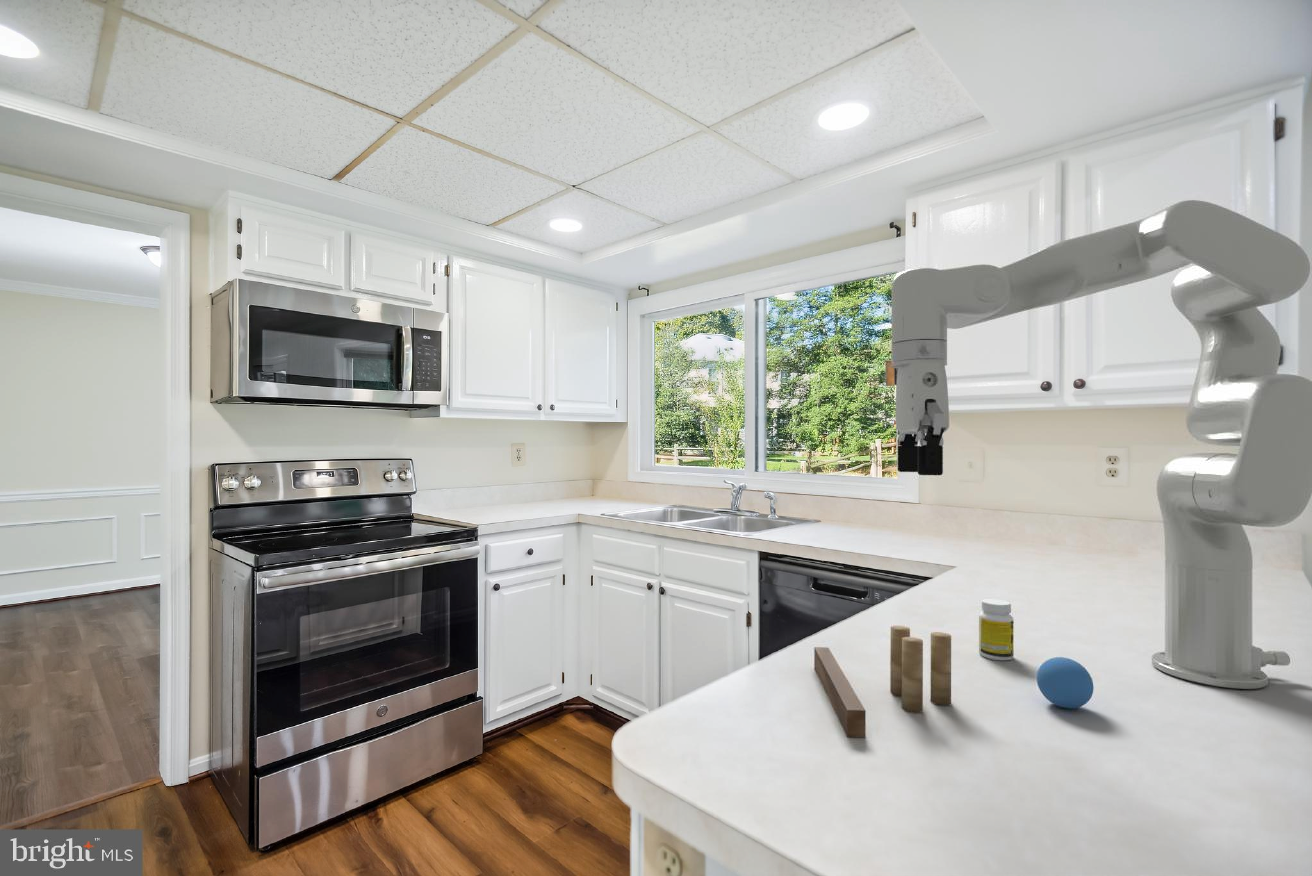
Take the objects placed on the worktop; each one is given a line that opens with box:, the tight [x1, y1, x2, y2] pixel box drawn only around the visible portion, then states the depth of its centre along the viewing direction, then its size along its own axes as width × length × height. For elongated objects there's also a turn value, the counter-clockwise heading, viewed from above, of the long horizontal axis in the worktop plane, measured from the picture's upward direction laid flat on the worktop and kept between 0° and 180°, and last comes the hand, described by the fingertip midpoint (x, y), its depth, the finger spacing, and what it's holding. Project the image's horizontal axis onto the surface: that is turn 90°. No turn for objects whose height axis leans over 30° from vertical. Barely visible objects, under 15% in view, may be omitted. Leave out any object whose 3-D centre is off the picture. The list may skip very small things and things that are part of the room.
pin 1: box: [889, 625, 911, 697], centre depth 84 cm, size 2×2×8 cm
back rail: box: [813, 646, 867, 739], centre depth 82 cm, size 2×22×3 cm, turn 175°
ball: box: [1036, 656, 1095, 709], centre depth 80 cm, size 6×6×6 cm
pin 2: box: [901, 636, 924, 714], centre depth 79 cm, size 2×2×8 cm
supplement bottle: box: [978, 598, 1015, 662], centre depth 99 cm, size 5×5×8 cm
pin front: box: [930, 631, 952, 707], centre depth 81 cm, size 2×2×8 cm
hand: (918, 473), depth 93 cm, fingers open, 9 cm apart
